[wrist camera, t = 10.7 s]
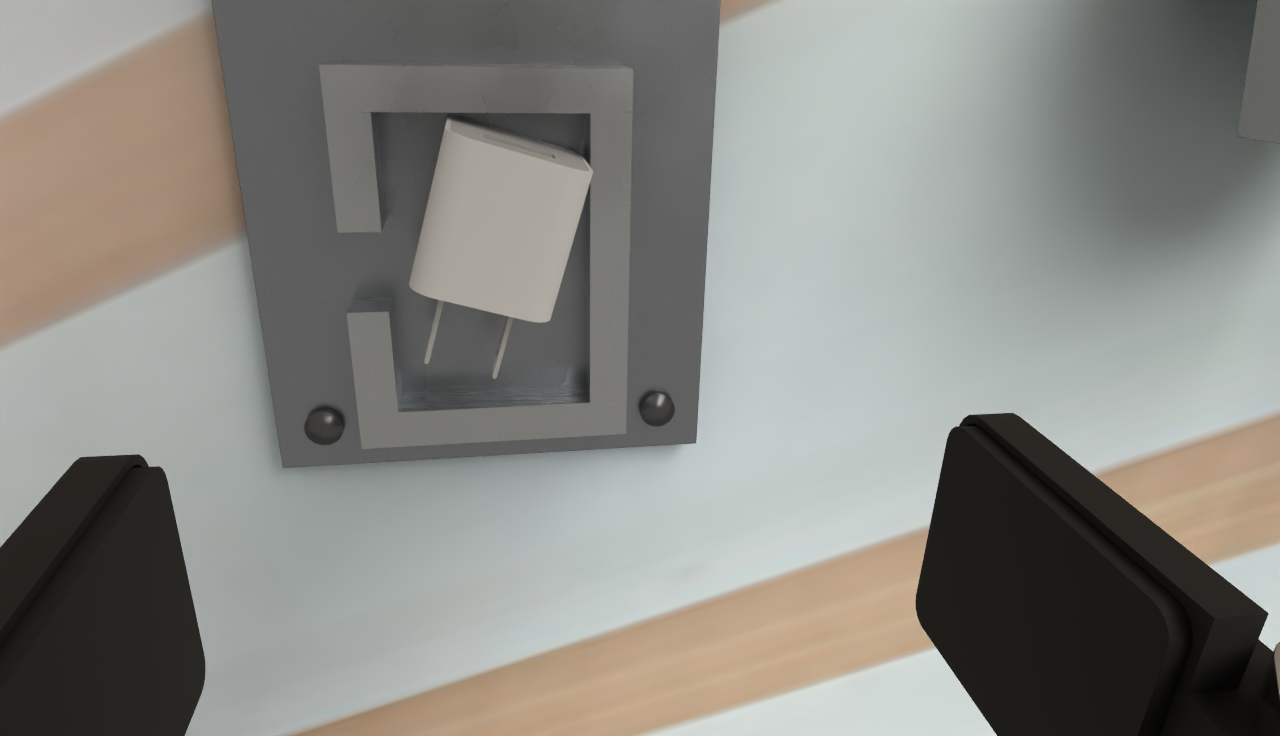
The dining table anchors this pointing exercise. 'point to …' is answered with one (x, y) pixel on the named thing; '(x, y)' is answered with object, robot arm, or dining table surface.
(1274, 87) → the circuit breaker
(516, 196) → the usb wall charger
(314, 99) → the plate
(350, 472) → the dining table surface
